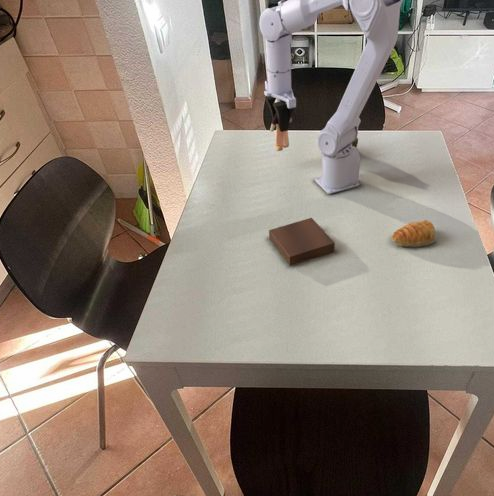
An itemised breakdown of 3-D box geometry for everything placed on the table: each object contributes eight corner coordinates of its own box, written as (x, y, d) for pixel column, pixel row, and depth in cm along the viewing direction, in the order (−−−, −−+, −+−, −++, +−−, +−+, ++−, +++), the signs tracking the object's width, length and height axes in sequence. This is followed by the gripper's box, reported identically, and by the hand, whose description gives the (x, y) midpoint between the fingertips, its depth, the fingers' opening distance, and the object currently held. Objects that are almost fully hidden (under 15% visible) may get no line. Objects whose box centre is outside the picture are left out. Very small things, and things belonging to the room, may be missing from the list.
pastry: (399, 252, 94) (402, 238, 92) (385, 236, 99) (388, 221, 96) (436, 244, 96) (441, 229, 93) (421, 228, 100) (425, 213, 98)
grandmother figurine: (281, 154, 114) (279, 103, 104) (269, 150, 115) (266, 100, 106) (295, 142, 118) (295, 92, 108) (284, 139, 120) (283, 89, 110)
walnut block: (311, 226, 102) (311, 217, 100) (334, 252, 95) (334, 242, 93) (269, 239, 99) (268, 230, 97) (289, 266, 92) (289, 256, 90)
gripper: (252, 63, 106) (256, 120, 116) (276, 81, 97) (278, 142, 108) (278, 58, 108) (280, 115, 118) (303, 76, 99) (303, 136, 110)
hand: (281, 128), depth 113 cm, fingers closed on grandmother figurine, 3 cm apart
